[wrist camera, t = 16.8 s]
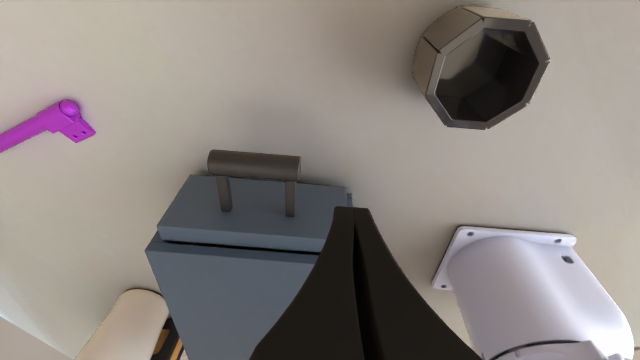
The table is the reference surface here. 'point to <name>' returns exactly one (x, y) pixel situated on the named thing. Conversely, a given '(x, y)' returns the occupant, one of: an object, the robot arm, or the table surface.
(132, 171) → the table surface
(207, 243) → the drawer
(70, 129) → the purple bicycle pump
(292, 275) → the cabinet
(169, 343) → the ammunition clip
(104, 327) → the drinking glass
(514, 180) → the table surface
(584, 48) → the table surface
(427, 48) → the grey hollow octagonal cup
